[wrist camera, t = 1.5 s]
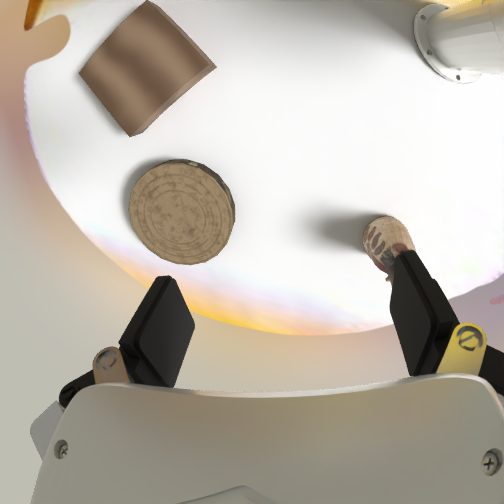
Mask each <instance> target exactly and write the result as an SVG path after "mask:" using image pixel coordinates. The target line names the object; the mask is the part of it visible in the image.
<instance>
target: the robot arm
mask: <svg viewBox="0 0 504 504" xmlns="http://www.w3.org/2000/svg"><path fill="white" fill-rule="evenodd" d="M421 18H422V19H421ZM414 35H415V38H416V42H417V44H418V47H419V49H420V51H421V53H422V55H423V56H424V58H425V59H426V61H427V62H428V63H429V65H430V66H431V67H432V68H433V69H434V70H435V71H436V72H437V73H439V74H440V75H441V76H443V77H444V78H446V79H447V80H450V81H452V82H455V83H463V84H467V83H472V82H474V81H476V80H477V79H478V78H479V77H480V75H481V74H497V75H504V0H471V1H468V2H465V3H462V4H459V5H457V6H454V7H451V8H450V7H448V6H445V5H442V4H430V5H427V6H425V7H423V8H422V9H420V10H419V12H418V13H417V14H416V17H415V19H414ZM427 53H428V54H427ZM390 313H391V316H392V319H393V322H394V325H395V328H396V331H397V334H398V338H399V340H400V344H401V347H402V350H403V354H404V358H405V361H406V364H407V368H408V372H409V375H410V376H414V377H409V378H404V379H399V380H392V381H386V382H380V383H373V384H366V385H359V386H351V387H342V388H333V389H322V390H308V391H291V392H220V391H202V390H201V391H200V390H189V389H188V390H187V389H177V388H173V387H174V385H175V383H176V380H177V376H178V374H179V371H180V368H181V365H182V362H183V360H184V356H185V354H186V351H187V348H188V345H189V343H190V340H191V337H192V334H193V331H194V328H195V323H194V320H193V318H192V316H191V314H190V311H189V309H188V307H187V305H186V303H185V300H184V298H183V296H182V294H181V291H180V289H179V287H178V285H177V282H176V280H175V279H174V278H172V277H171V276H169V275H168V276H158V277H157V278H156V279H155V281H154V282H153V284H152V286H151V287H150V289H149V290H148V292H147V294H146V295H145V297H144V299H143V301H142V302H141V304H140V305H139V307H138V309H137V311H136V312H135V314H134V316H133V317H132V319H131V321H130V323H129V324H128V326H127V328H126V330H125V331H124V333H123V335H122V337H121V339H120V340H119V342H118V343H119V344H120V347H119V349H118V348H116V347H107V348H104V349H103V350H101V351H100V352H99V353H98V354H97V355H96V357H95V358H94V360H93V370H91V371H90V372H87V373H86V374H84V375H82V376H80V377H79V378H77V379H75V380H73V381H72V382H70V383H68V384H67V385H66V386H64V387H63V389H62V390H61V392H60V395H59V402H57V401H55V402H54V403H53V404H52V405H51V406H50V407H48V409H46V410H45V411H44V412H43V413H42V414H41V415H40V416H39V417H38V418H37V419H36V420H35V421H34V422H33V423H32V425H31V428H30V434H31V437H32V439H33V441H34V444H35V446H36V448H37V450H38V452H39V454H40V456H41V458H42V460H43V462H42V465H41V468H40V471H39V474H38V478H37V481H36V485H35V488H34V492H33V496H32V500H31V504H504V353H503V352H501V351H499V350H496V349H494V348H492V347H490V346H488V345H487V338H486V334H485V333H484V331H483V330H482V329H481V328H480V327H479V326H477V325H475V324H473V323H462V324H460V323H459V321H458V319H457V317H456V315H455V313H454V311H453V309H452V307H451V305H450V304H449V302H448V300H447V298H446V296H445V295H444V293H443V291H442V289H441V288H440V286H439V284H438V283H437V281H436V280H435V279H432V277H431V276H430V274H429V272H428V271H427V269H426V268H425V266H424V264H423V263H422V261H421V260H420V258H419V256H418V255H417V253H416V252H415V251H414V250H405V251H401V252H400V254H399V255H397V256H396V260H395V269H394V278H393V286H392V293H391V300H390Z"/></svg>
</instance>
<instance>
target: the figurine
mask: <svg viewBox="0 0 504 504" xmlns="http://www.w3.org/2000/svg"><path fill="white" fill-rule="evenodd" d="M363 245H364V248H365V251H366V253H367V254H368V256H369V257H370V258H371V259H372V260H373V262H374V264H375V265H376V266H377V267H378V268H379V269H380V270H381V271H383V272H385V273H387V274H388V277H387V278H386V281H387V282H388V281H390V282H391V285H392V286H393V278H394V269H395V260H396V256H397V255H399V254H400V252H401V251H405V250H414V251H415V252H416V250H415V246H414V244H413V242H412V239H411V237H410V235H409V233H408V231H407V229H406V227H405V226H404V225H403V224H402V223H401V222H400V221H399V220H397V219H395V218H393V217H389V216H384V217H380V218H377V219H375V220H374V221H372V222H371V223H370V224H369V225H368V226H367V227H366V230H365V232H364V235H363Z"/></svg>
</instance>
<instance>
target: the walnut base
mask: <svg viewBox="0 0 504 504" xmlns="http://www.w3.org/2000/svg"><path fill="white" fill-rule="evenodd" d="M215 68H217V67H216V66H215V64H214V63H213V62H212V61H211V60H210V59H209V58H208V57H207V55H206V54H205V53H204V52H203V51H202V50H201V49H200V48H199V47H198V46H197V45H196V43H195V42H194V41H193V40H192V39H191V38H190V37H189V36H188V35H187V34H186V33H185V32H184V31H183V30H182V29H181V28H180V27H179V26H178V25H177V24H176V23H175V22H174V21H173V20H172V19H171V18H170V17H169V16H168V15H167V14H166V13H165V12H164V11H163V10H162V9H161V8H160V7H159V6H157V5H155V4H154V3H152V2H150V1H148V0H146V1H145V2H144V3H143V4H142V5H140V6H139V7H138V8H137V9H136V10H135V11H134V12H133V13H132V14H131V15H130V16H129V17H128V18H127V19H126V20H124V21H123V22H122V23H121V24H120V26H119V27H118V28H117V29H116V30H115V31H114V32H113V33H112V34H111V35H110V36H109V37H108V38H107V39H106V40H105V42H104V43H103V44H102V45H101V46H100V47H99V48H98V50H97V51H96V52H95V53H94V54H93V56H92V57H91V58H90V59H89V61H88V62H87V63H86V64H85V66H84V67H83V68H82V69H81V71H80V72H79V74H80V76H81V77H82V78H83V80H84V81H85V82H86V83H87V85H88V86H89V87H90V88H91V90H92V91H93V92H94V93H95V95H96V96H97V97H98V98H99V100H100V101H101V102H102V104H103V105H104V106H105V107H106V109H107V110H108V111H109V112H110V113H111V115H112V116H113V117H114V118H115V120H116V121H117V122H118V123H119V125H120V126H121V127H122V128H123V130H124V131H125V132H126V133H127V134H128V136H129V137H132V136H135V135H138V134H141V133H143V132H144V131H145V130H146V129H147V128H148V127H149V126H150V125H151V124H152V123H153V122H154V121H155V120H156V119H157V118H158V117H159V116H160V115H161V114H162V113H163V112H164V111H165V110H166V109H167V108H169V107H170V106H171V105H172V104H173V103H174V102H175V101H176V100H177V99H179V98H180V97H181V96H182V95H183V94H184V93H185V92H187V91H188V90H189V89H190V88H191V87H193V86H194V85H195V84H196V83H197V82H199V81H200V80H201V79H202V78H204V77H205V76H206V75H208V74H209V73H210V72H211V71H213V70H214V69H215Z"/></svg>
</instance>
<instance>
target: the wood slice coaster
mask: <svg viewBox="0 0 504 504" xmlns="http://www.w3.org/2000/svg"><path fill="white" fill-rule="evenodd" d="M129 213H130V218H131V224H132V226H133V228H134V230H135V232H136V234H137V236H138V238H139V239H140V240H141V242H142V243H143V244H144V245H145V246H146V247H147V248H148V249H149V250H150V251H151V252H153V253H154V254H156V255H157V256H159V257H160V258H161V259H164V260H167V261H170V262H172V263H175V264H184V265H194V264H199V263H204V262H206V261H208V260H210V259H211V258H213V257H215V256H217V255H218V254H219V253H220V251H221V250H222V249H223V248H224V247H225V245H226V244H227V242H228V240H229V237H230V234H231V231H232V228H233V225H234V222H235V204H234V201H233V198H232V195H231V192H230V190H229V188H228V187H227V185H226V184H225V183H224V181H223V180H222V179H221V177H220V176H219V175H218V174H217V173H215V172H214V171H212V170H211V169H210V168H208V167H207V166H205V165H204V164H201V163H197V162H194V161H191V160H187V159H185V160H169V161H167V162H164V163H162V164H159V165H157V166H155V167H153V168H152V169H150V170H149V171H148V172H146V173H145V174H144V175H143V176H142V177H141V178H140V179H139V180H138V181H137V183H136V185H135V187H134V189H133V191H132V193H131V196H130V204H129Z"/></svg>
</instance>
